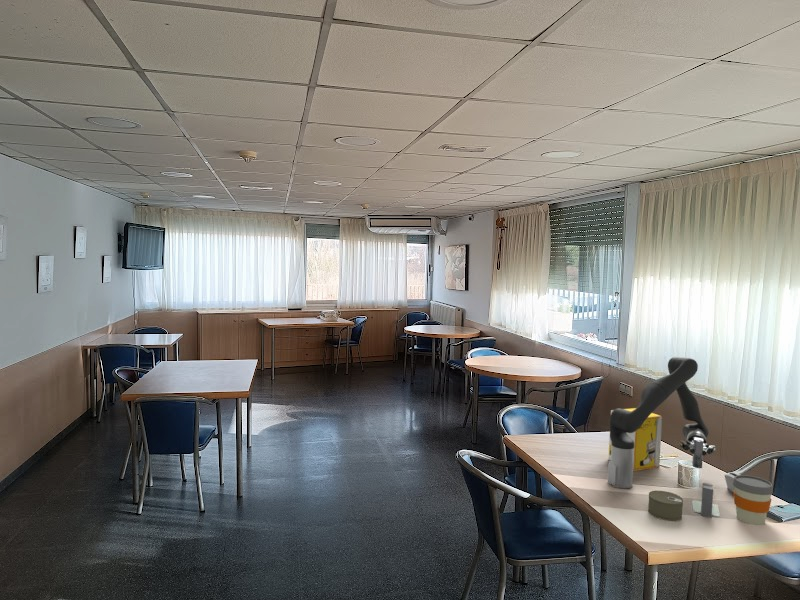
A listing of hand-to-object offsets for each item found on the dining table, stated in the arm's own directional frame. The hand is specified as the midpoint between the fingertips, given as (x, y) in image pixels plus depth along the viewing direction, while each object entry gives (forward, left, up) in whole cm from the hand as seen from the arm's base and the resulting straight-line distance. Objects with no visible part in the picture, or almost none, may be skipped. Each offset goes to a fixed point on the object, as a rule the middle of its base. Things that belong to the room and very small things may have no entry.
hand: (698, 452), depth 217 cm
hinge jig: (-3, -9, -20) cm, 22 cm away
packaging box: (-3, +42, -20) cm, 46 cm away
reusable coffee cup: (+9, -19, -20) cm, 29 cm away
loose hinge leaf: (+2, +2, -6) cm, 7 cm away
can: (-22, -12, -20) cm, 32 cm away
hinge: (+22, +2, -20) cm, 30 cm away
